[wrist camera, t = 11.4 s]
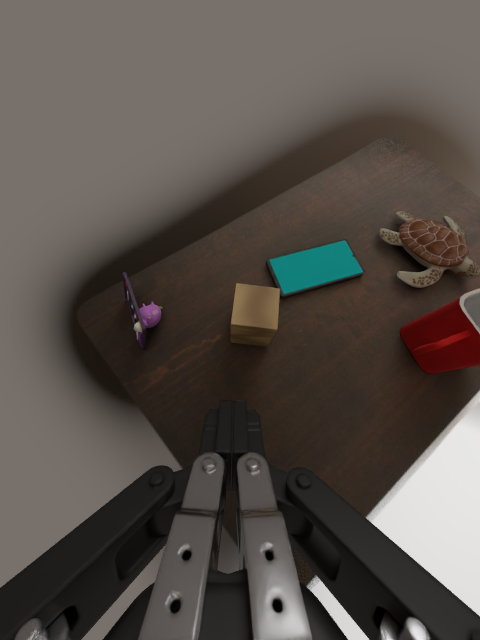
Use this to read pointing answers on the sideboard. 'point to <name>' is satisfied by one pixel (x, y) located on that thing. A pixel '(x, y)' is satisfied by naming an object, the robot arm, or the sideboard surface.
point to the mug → (446, 336)
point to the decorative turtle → (431, 249)
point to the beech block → (254, 314)
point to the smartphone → (314, 268)
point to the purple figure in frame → (141, 313)
